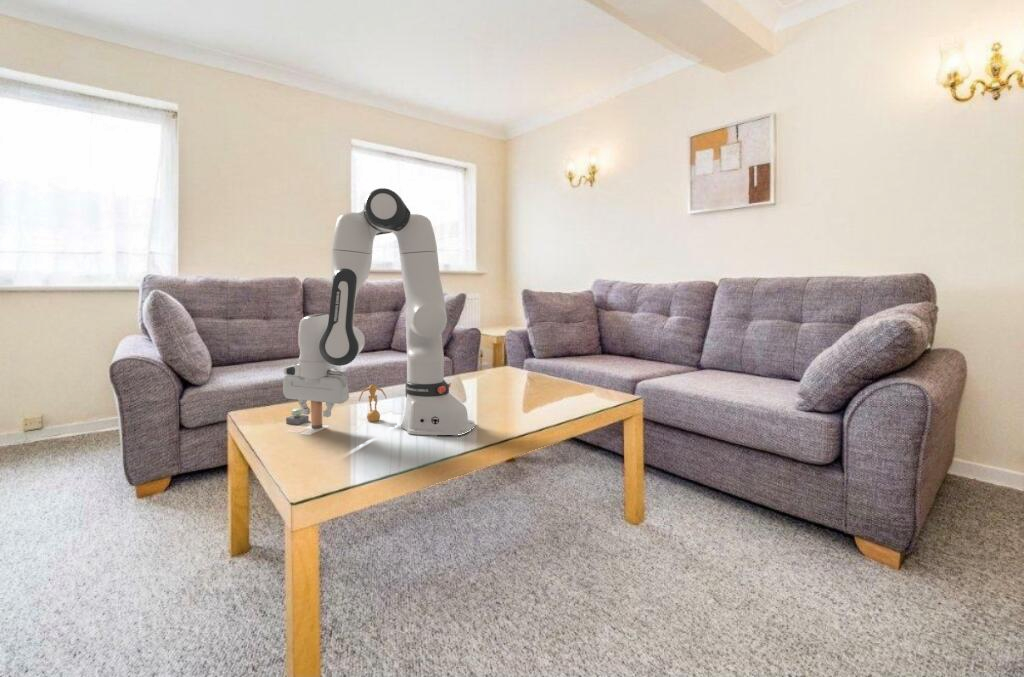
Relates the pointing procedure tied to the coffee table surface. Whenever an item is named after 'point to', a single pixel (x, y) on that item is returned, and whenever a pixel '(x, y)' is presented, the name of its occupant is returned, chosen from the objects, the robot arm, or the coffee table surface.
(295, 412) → the button
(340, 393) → the robot arm
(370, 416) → the figurine
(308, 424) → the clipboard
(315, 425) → the cylinder
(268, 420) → the coffee table surface
